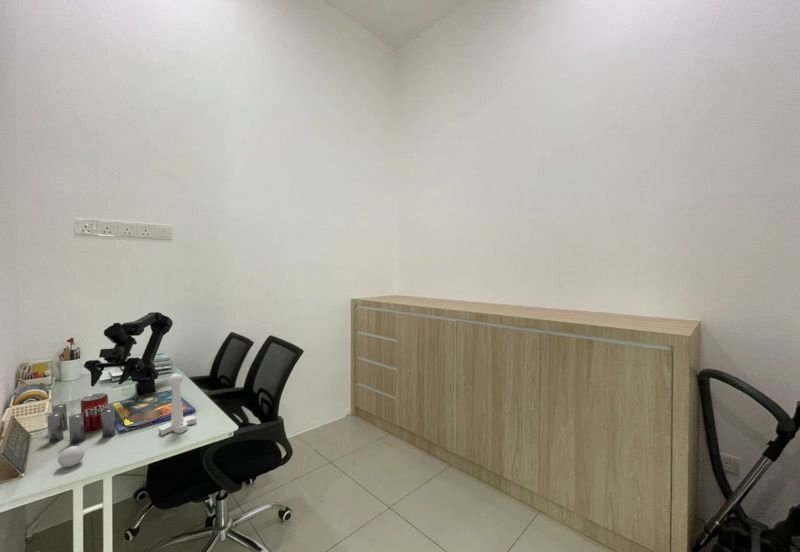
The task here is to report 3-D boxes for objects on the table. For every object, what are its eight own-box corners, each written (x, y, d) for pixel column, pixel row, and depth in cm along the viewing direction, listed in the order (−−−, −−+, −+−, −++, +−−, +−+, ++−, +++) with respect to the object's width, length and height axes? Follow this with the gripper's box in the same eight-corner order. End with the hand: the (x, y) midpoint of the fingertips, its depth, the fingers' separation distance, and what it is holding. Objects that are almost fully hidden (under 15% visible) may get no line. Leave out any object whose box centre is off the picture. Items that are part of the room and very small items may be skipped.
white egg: (90, 459, 99) (89, 441, 99) (72, 471, 94) (71, 452, 94) (65, 460, 99) (64, 442, 99) (45, 472, 94) (44, 453, 93)
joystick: (192, 420, 124) (190, 368, 123) (200, 426, 119) (198, 372, 118) (157, 432, 115) (154, 377, 114) (164, 439, 110) (162, 382, 109)
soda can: (113, 426, 120) (111, 394, 119) (88, 435, 113) (86, 402, 113) (103, 422, 123) (101, 391, 122) (78, 431, 116) (76, 398, 116)
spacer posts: (62, 427, 119) (61, 403, 119) (118, 433, 115) (117, 408, 114) (30, 440, 110) (28, 415, 110) (89, 448, 106) (87, 421, 105)
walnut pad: (157, 409, 133) (157, 406, 133) (167, 417, 126) (166, 415, 126) (120, 420, 124) (119, 418, 124) (127, 430, 116) (127, 427, 116)
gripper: (84, 340, 127) (64, 378, 117) (138, 338, 131) (122, 374, 121) (100, 354, 136) (82, 390, 126) (150, 351, 139) (136, 386, 129)
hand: (105, 385), depth 125 cm, fingers open, 9 cm apart
